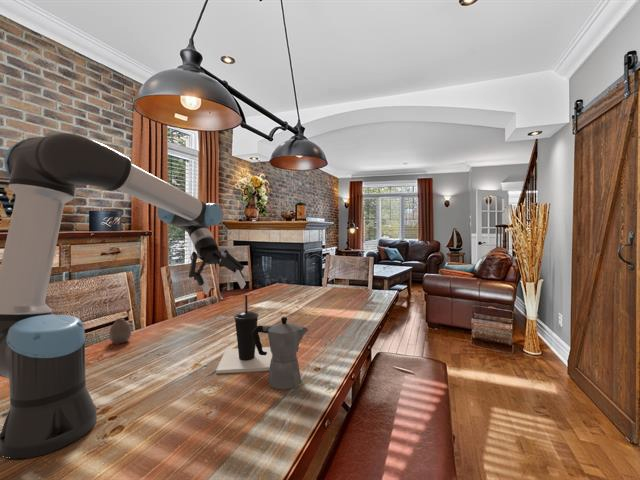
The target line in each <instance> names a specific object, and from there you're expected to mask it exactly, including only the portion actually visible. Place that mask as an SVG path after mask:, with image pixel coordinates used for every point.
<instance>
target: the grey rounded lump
mask: <svg viewBox="0 0 640 480" xmlns="http://www.w3.org/2000/svg"><path fill="white" fill-rule="evenodd" d="M131 335H132V328H131V325H130V324H129V322H127V321H126V319H124V318H123V317H121V318H116V319H115V321H114V323H112V325H111V326H110V328H109V331H108V337H109V340H110V342H111V343H113V344H114V345H120V344H121V343H122V344H125V343H127V341H129V339H130V338H131ZM124 342H125V343H124Z"/></svg>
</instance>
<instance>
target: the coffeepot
mask: <svg viewBox="0 0 640 480" xmlns="http://www.w3.org/2000/svg"><path fill="white" fill-rule="evenodd" d="M280 318H281V319H280V320H281V323H274V324H272V325H257V327H256V328H255V329H254V330H253V332H252V336H253V338H254V341H255V344H256V345H255V348H257V350H258V352H259V354H260V355H266V354H267V352H264V351H263V350H262V347H263V344H262V343H261V337H260V335H259V333H262V334H267V335H268V336H267V337H268V341H269V347H270V350H271V353H272V359H271V363H270V369H269V371H268V377H267V383H268V385H269V387H271V389H275V390H279V391H285V390H292V389H294V388H297V386H299V384H301V383H300V382H302V377H301V372H300V365H299V360H298V357H297V353H298V352H299V347H300V342H301V340H302V339H303V337H304V336H305V335H306V333H307V332H309V329H308V327H305V326H300V325H299V324H297V323H291V322H287V320H288V317H286V316H283V317H280Z"/></svg>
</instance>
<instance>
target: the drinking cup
mask: <svg viewBox="0 0 640 480" xmlns="http://www.w3.org/2000/svg"><path fill="white" fill-rule="evenodd" d="M244 302H245V303H244V308H245V309H244V310H243V311H241V312H238V313H236V314H234V315H233V319H234V322H235V332H236V342H237V343H236V344H237V348H238V352H239V359H240V360H244V361H247V360H251V359H253V358H254V357H255V348H256V344H255V341H254V338H253V336H252V332H253V330H254V329H255V328H256V327H257V326H258V321H259V320H258V319H259V313H257V312H254V311H252V310H248V295H246V294H245V295H244Z"/></svg>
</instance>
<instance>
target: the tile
mask: <svg viewBox="0 0 640 480" xmlns="http://www.w3.org/2000/svg"><path fill="white" fill-rule="evenodd" d="M262 350H263V351H264V352H267V354H266V355H260V354H259V352H258V350H257V347H255V357H254V358H253V359H251V360H247V361H244V360H240V359H239V352H238V347H237V348H226V349H225V351H224V353H223V355H222V357H221V359H220V361H219V363H218V366H217V367H216V370H215V374H232V373H250V372H251V373H253V372H254V373H255V372H267V371H268V372H269V369H270V363H271V359H272V353H271V350H270V346H262Z"/></svg>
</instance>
